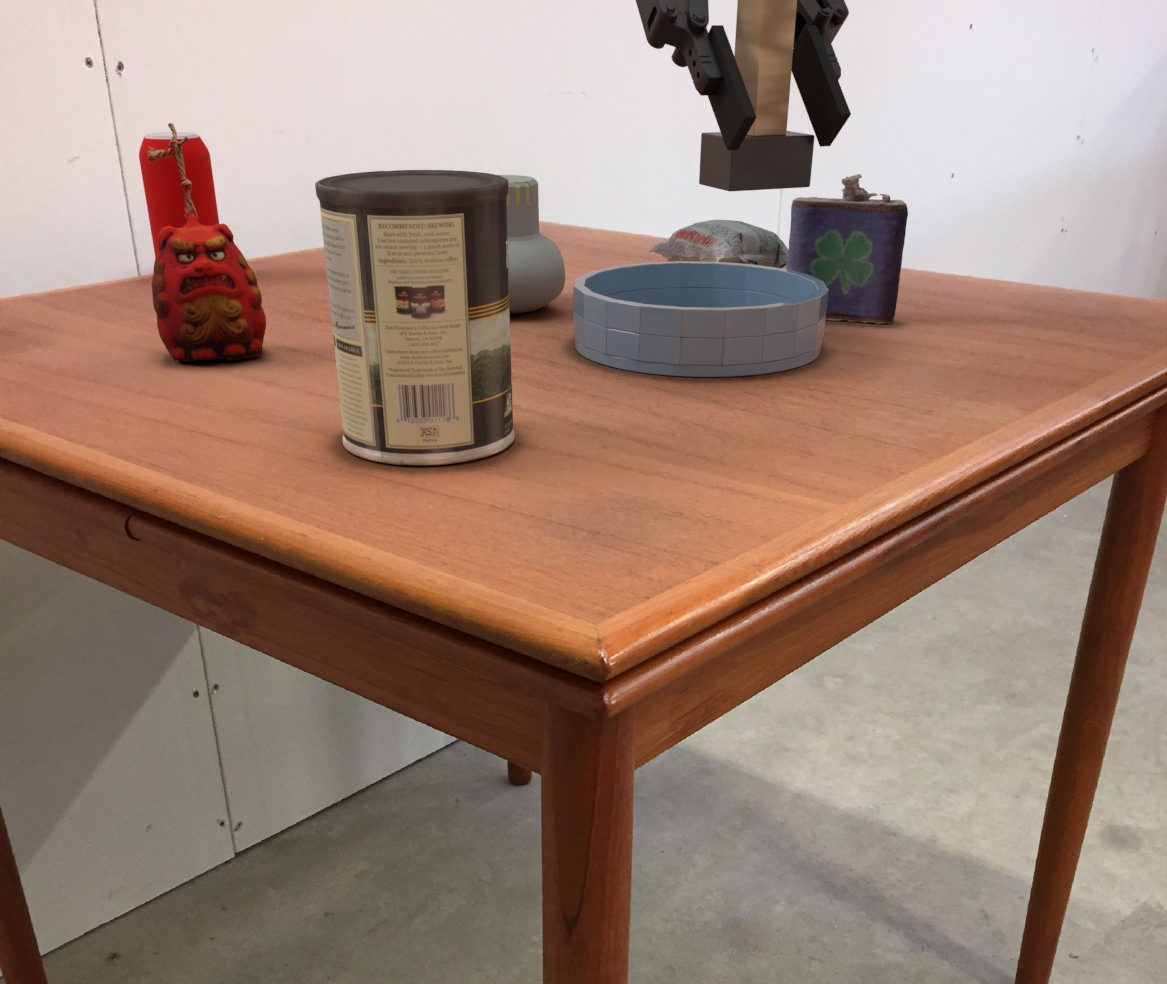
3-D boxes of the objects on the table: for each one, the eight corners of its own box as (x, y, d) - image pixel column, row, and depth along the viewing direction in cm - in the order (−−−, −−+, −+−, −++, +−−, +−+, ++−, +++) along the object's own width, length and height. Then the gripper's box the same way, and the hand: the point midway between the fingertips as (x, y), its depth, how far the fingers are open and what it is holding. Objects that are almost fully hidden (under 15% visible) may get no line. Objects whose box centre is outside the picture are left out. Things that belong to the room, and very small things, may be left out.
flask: (779, 316, 104) (791, 174, 99) (786, 310, 107) (798, 170, 101) (892, 325, 102) (911, 180, 96) (897, 318, 104) (915, 175, 99)
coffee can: (463, 407, 81) (452, 164, 74) (547, 448, 74) (544, 183, 66) (312, 431, 76) (285, 174, 69) (386, 478, 69) (364, 196, 61)
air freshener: (572, 318, 104) (572, 184, 99) (475, 325, 101) (470, 188, 96) (531, 293, 112) (529, 169, 107) (441, 299, 110) (435, 173, 105)
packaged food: (716, 292, 113) (720, 233, 110) (647, 271, 122) (649, 215, 119) (794, 285, 116) (800, 227, 114) (722, 265, 125) (725, 211, 123)
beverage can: (203, 268, 122) (183, 129, 116) (239, 277, 119) (220, 134, 112) (146, 276, 118) (122, 133, 112) (181, 285, 115) (158, 138, 108)
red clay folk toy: (170, 371, 88) (131, 131, 81) (154, 350, 94) (115, 123, 86) (278, 360, 91) (250, 128, 83) (256, 340, 97) (228, 120, 89)
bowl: (842, 331, 100) (849, 270, 98) (789, 387, 85) (795, 318, 83) (622, 312, 106) (623, 255, 103) (536, 362, 91) (535, 297, 89)
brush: (777, 180, 84) (795, -54, 77) (810, 187, 81) (832, -56, 74) (698, 184, 82) (710, -56, 75) (729, 191, 79) (744, -58, 72)
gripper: (776, -116, 88) (885, 169, 84) (523, -127, 81) (629, 182, 77) (827, -223, 81) (949, 82, 77) (555, -245, 74) (673, 88, 70)
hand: (789, 131), depth 77 cm, fingers closed on brush, 6 cm apart
